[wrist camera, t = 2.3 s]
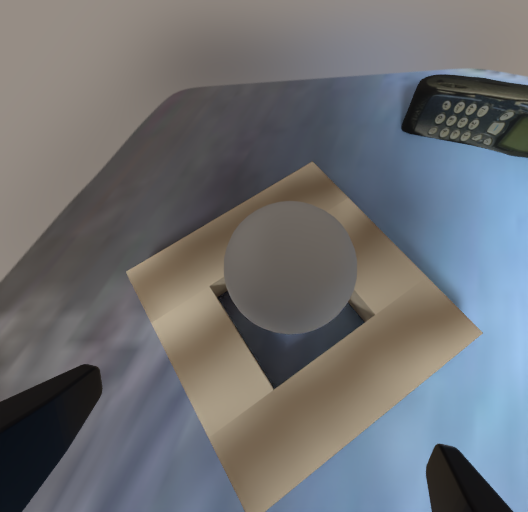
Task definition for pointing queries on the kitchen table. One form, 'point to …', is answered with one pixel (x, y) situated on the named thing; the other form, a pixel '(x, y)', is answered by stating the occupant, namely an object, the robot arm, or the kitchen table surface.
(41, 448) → the robot arm
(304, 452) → the birch holder
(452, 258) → the kitchen table surface
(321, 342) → the kitchen table surface
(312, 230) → the lightbulb
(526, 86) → the mobile phone
